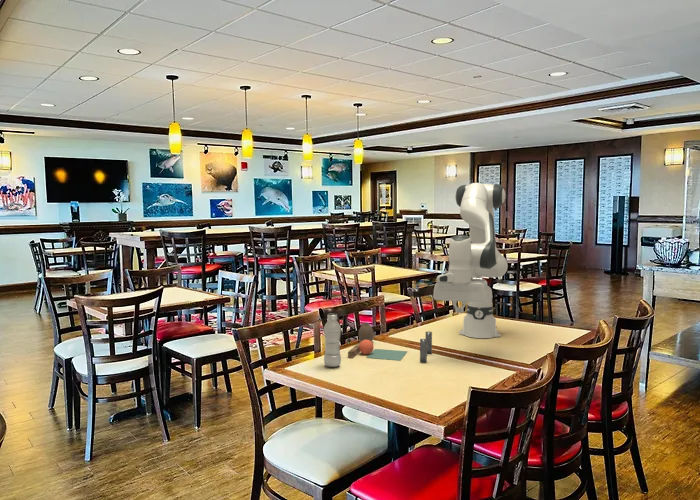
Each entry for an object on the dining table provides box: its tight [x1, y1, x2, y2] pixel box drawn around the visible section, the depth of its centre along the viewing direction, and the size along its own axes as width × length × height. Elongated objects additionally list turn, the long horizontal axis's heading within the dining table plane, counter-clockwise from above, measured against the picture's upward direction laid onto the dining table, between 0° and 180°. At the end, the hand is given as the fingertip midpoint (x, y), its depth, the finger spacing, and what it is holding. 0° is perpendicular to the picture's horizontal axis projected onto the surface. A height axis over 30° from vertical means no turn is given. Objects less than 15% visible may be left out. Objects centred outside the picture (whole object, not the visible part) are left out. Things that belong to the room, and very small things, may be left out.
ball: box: [359, 340, 375, 355], centre depth 215 cm, size 6×6×6 cm
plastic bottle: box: [323, 313, 342, 368], centre depth 197 cm, size 6×7×20 cm
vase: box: [358, 322, 375, 342], centre depth 235 cm, size 7×7×9 cm
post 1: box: [419, 338, 428, 364], centre depth 202 cm, size 3×3×9 cm
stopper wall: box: [347, 340, 361, 359], centre depth 217 cm, size 18×2×2 cm, turn 163°
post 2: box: [425, 331, 433, 355], centre depth 215 cm, size 3×3×9 cm
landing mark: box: [365, 348, 408, 362], centre depth 214 cm, size 14×14×1 cm
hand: (459, 312), depth 204 cm, fingers closed
